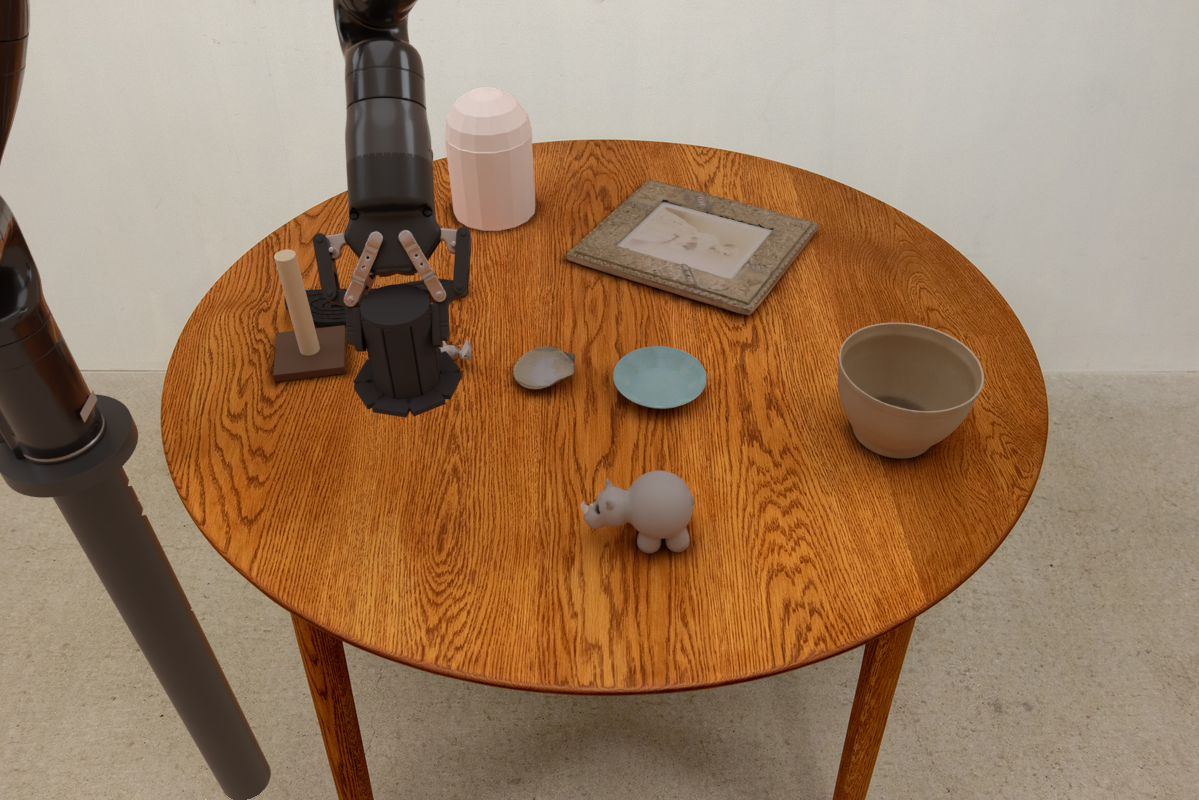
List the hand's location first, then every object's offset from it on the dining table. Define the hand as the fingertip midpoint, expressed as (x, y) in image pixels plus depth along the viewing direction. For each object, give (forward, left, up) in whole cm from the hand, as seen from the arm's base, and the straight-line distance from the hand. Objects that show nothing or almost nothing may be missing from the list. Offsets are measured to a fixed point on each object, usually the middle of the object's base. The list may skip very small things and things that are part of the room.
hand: (399, 348), depth 83 cm
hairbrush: (-5, +46, -28) cm, 54 cm away
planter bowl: (+56, +8, -28) cm, 63 cm away
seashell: (+16, +26, -28) cm, 41 cm away
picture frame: (+43, +52, -28) cm, 73 cm away
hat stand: (-14, +36, -28) cm, 47 cm away
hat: (0, +2, -5) cm, 6 cm away
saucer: (+30, +21, -28) cm, 46 cm away
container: (+14, +69, -28) cm, 75 cm away
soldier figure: (+1, +32, -28) cm, 42 cm away
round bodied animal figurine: (+22, -2, -28) cm, 35 cm away
